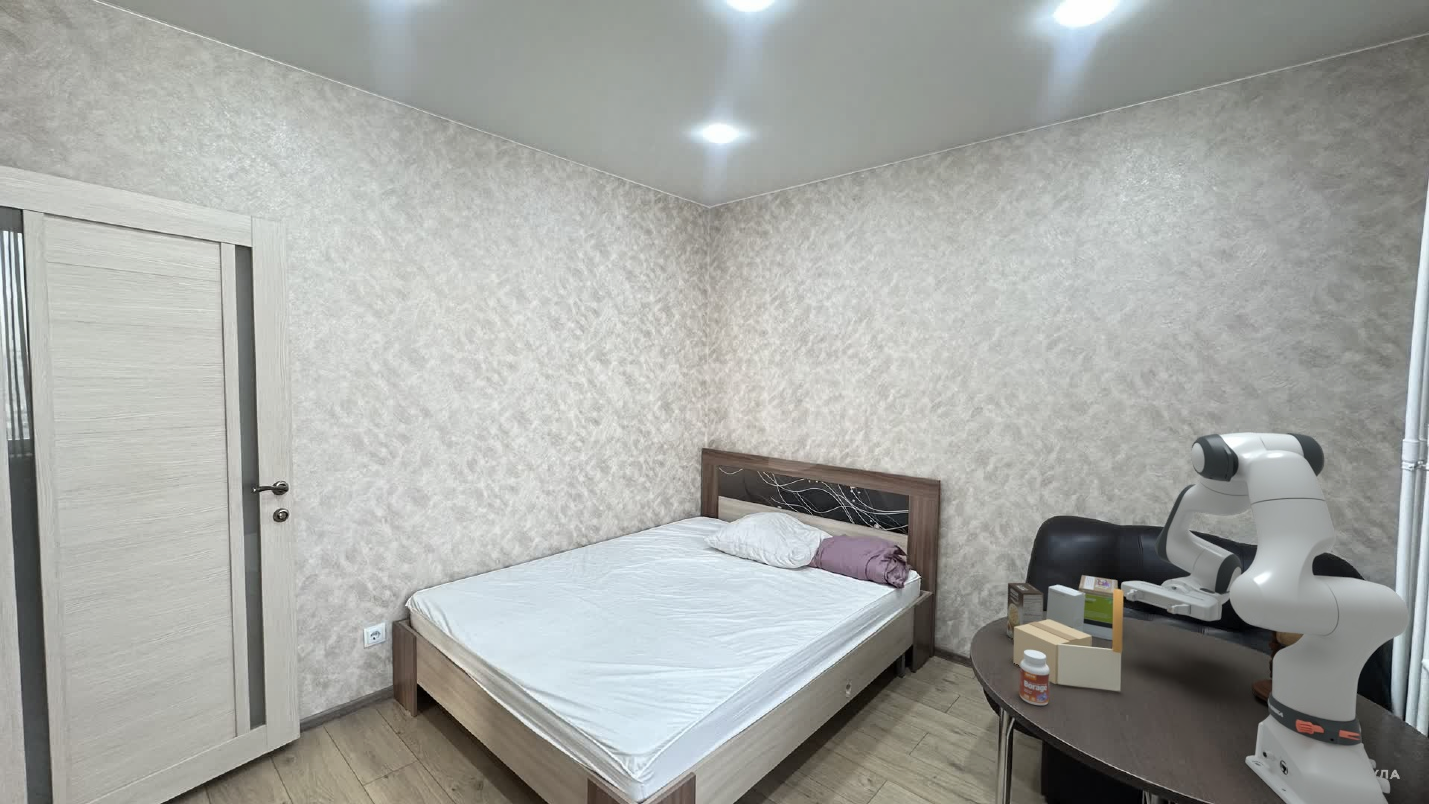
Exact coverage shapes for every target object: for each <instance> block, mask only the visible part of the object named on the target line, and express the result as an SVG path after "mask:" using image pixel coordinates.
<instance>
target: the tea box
mask: <svg viewBox="0 0 1429 804" xmlns="http://www.w3.org/2000/svg"><path fill="white" fill-rule="evenodd" d="M1079 582H1080V583H1079V586H1078V591H1080V592H1083V593H1085V607H1084V621H1083V633H1086V634H1088V635H1091V636H1092V638H1093V637H1094V638H1098V639H1101V640H1102V639H1103V640H1107V641H1112V636H1113V589H1119V586H1118V585H1119V583H1118V580H1116V579H1112V578H1111V579H1110V578H1104V577H1097V576H1089V575H1083V574H1082V575H1081V578H1080V581H1079Z"/></svg>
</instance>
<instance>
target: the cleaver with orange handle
mask: <svg viewBox="0 0 1429 804" xmlns="http://www.w3.org/2000/svg"><path fill="white" fill-rule="evenodd" d="M1123 617H1124V596H1123V590H1121V588H1118V589H1113V636H1112V640H1111V642H1112V645H1111V647H1112V648H1107V647H1105V648H1103V647H1096V646H1092V647H1087V646H1077V645H1067V644H1058V681H1057V685H1063V686H1071V687H1072V686H1073V687H1081V688H1091V689H1100V690H1108V691H1115V692H1121V684H1122V683H1121V677H1122V676H1121V675H1122V674H1121V673H1122V670H1121V669H1122V653H1123V637H1124V636H1123V633H1124V632H1123V631H1124V629H1123V628H1124V627H1123V625H1124V623H1123V622H1124V621H1123V620H1124V619H1123Z"/></svg>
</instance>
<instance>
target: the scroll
mask: <svg viewBox="0 0 1429 804" xmlns="http://www.w3.org/2000/svg"><path fill="white" fill-rule="evenodd" d="M1270 633H1271V636H1270V639H1271V640H1270V641H1268V647H1269V648H1270V651H1272V652H1271V653H1270V660H1269V662H1268V664H1269V666H1268V667H1269V672H1270V673H1269V678H1270V679H1262V680H1261V679H1260V680H1256V681H1254V682H1253V683H1252V688H1251V689H1252V693H1253V695H1254V696H1255V698H1257V697H1258V698H1260V699H1261V700H1263V701H1265V702H1267V703H1268V699H1269V694H1270V692H1272V677H1273V659H1274V656H1275V655H1276V653H1277V652H1278V651H1280V650H1281V649H1284V648H1286V647H1288V646H1291V645H1293V644H1294V643H1296V642H1297V641H1298V640H1299V639H1300V638H1301V637H1302V636H1303V634H1299V633H1287V632H1278V631H1274V630H1270Z"/></svg>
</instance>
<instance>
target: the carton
mask: <svg viewBox="0 0 1429 804" xmlns="http://www.w3.org/2000/svg"><path fill="white" fill-rule="evenodd" d="M1058 644H1067V645H1077V646H1087V647H1093V637H1092V636H1091V635H1088V634H1086V633H1083V632H1081V631H1078V630H1076V629H1073V628H1071V627H1068V626H1065V625H1063V624H1060V623H1058V622H1055V621H1053V620H1050V619H1048V620H1046V619H1043V621H1039V622H1031V623H1028V624H1025V625H1021V626H1016V627H1014V640H1013V664H1014V663H1015V664H1014V665H1016V664H1018V665H1019V666H1018V665H1017V666H1018V667H1020V663H1021V661H1022V660H1024V651H1025V650H1036V651H1039V652H1042V653H1043V654H1045V655H1046V663H1045V664H1046V665H1047V666H1048V667H1049V683H1052V684H1054V685H1056V684H1057V685H1058V683H1057V681H1058Z"/></svg>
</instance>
